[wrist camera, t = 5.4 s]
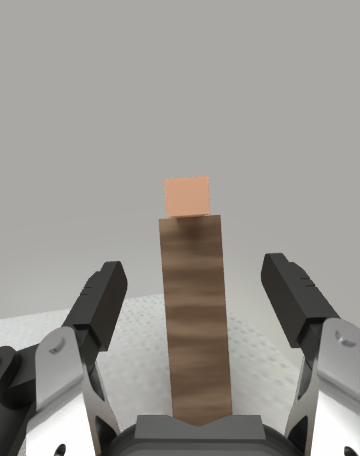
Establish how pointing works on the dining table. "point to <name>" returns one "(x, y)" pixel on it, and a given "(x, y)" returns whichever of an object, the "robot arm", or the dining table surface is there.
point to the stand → (196, 318)
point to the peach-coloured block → (187, 197)
